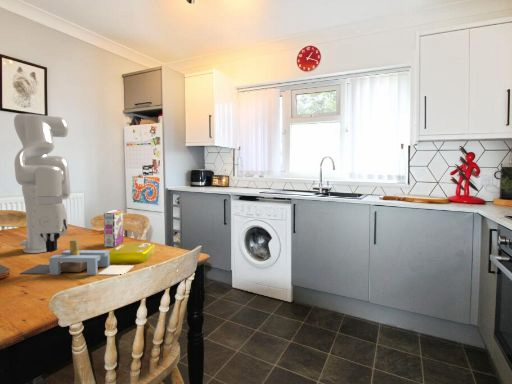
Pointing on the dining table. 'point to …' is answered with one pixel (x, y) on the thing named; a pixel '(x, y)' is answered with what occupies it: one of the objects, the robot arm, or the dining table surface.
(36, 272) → the pad
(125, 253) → the element tile
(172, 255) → the dining table surface
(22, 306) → the dining table surface
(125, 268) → the tile
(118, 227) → the candy bar box
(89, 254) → the tunnel
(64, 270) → the tan boxy piece
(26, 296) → the dining table surface
